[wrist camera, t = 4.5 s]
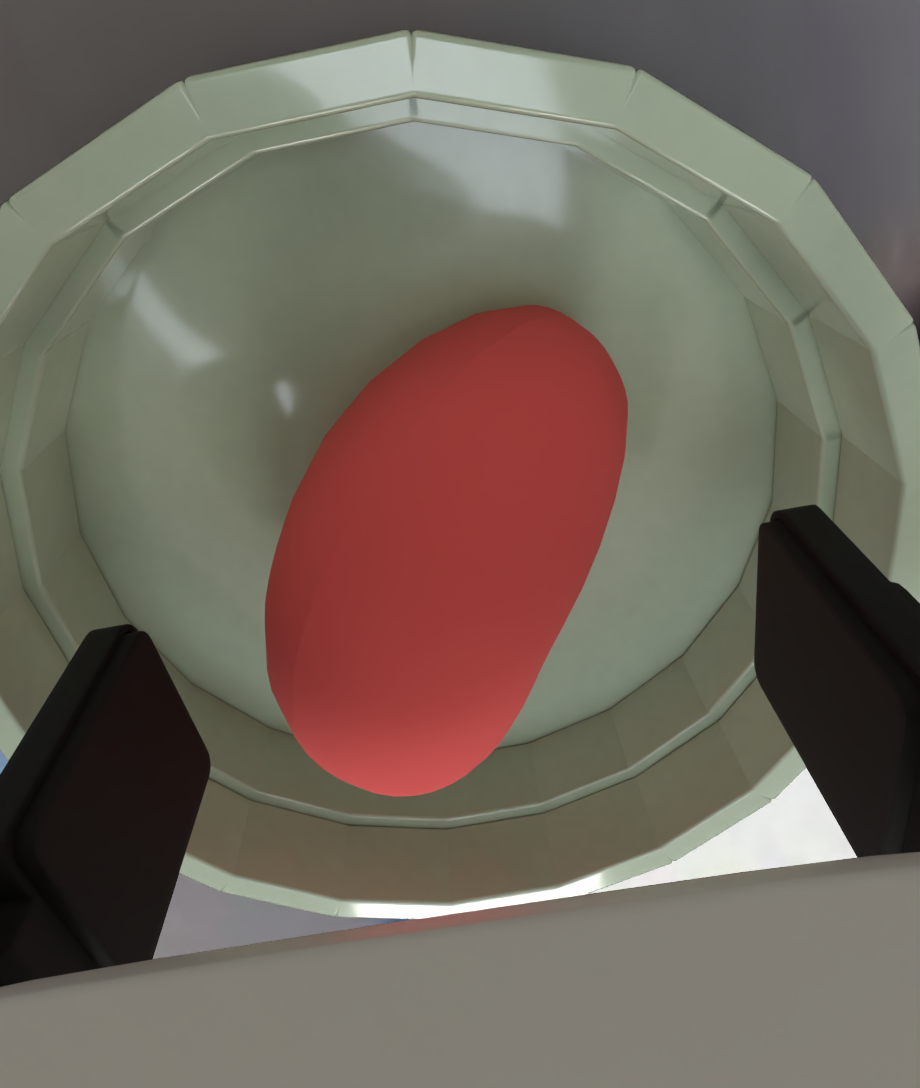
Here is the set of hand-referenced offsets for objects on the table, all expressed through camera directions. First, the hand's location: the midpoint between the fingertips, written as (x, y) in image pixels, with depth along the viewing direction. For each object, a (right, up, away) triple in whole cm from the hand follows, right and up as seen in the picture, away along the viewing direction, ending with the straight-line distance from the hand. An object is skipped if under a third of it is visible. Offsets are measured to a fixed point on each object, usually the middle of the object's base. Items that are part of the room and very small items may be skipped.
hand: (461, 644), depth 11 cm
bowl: (-1, +2, +4) cm, 4 cm away
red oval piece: (-1, +2, +3) cm, 4 cm away
